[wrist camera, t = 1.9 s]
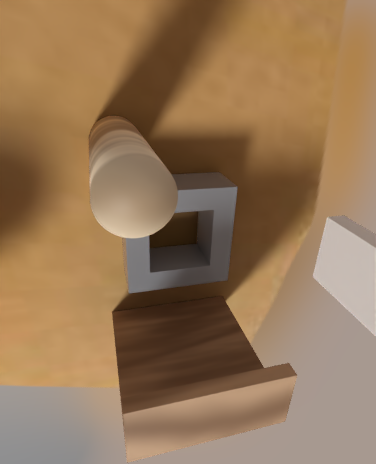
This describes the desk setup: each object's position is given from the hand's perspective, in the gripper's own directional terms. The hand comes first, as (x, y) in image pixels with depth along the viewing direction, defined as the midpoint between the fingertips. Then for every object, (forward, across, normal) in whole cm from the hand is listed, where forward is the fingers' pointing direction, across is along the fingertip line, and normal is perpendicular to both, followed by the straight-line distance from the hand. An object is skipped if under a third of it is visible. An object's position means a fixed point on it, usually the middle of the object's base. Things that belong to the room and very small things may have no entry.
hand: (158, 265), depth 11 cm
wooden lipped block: (+20, +5, -18) cm, 27 cm away
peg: (+20, 0, 0) cm, 20 cm away
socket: (+20, +5, -8) cm, 22 cm away
